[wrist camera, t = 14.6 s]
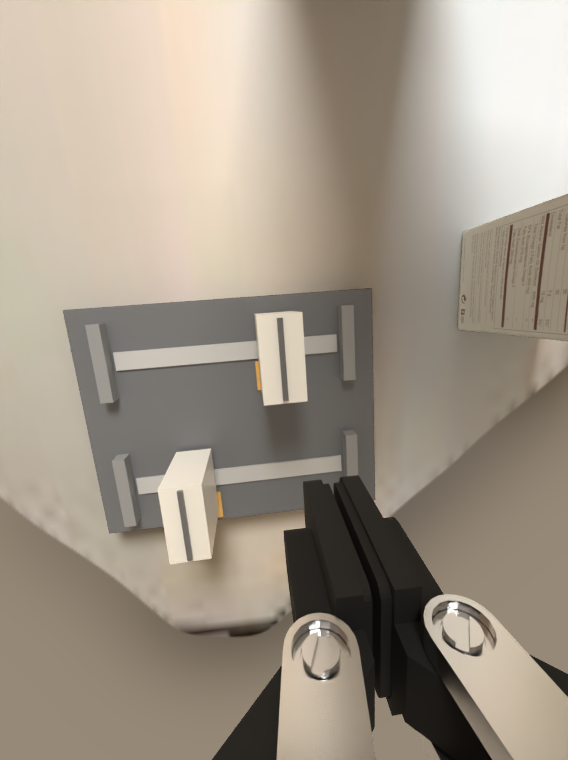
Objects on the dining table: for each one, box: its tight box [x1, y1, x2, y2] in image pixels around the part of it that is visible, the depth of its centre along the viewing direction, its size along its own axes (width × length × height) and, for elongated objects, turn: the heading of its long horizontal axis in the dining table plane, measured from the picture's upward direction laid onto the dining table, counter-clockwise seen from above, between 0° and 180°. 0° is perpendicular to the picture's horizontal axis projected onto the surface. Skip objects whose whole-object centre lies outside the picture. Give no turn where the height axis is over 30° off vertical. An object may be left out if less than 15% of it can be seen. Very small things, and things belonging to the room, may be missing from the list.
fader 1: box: [158, 448, 219, 564], centre depth 22 cm, size 5×2×5 cm, turn 4°
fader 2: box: [254, 311, 308, 406], centre depth 20 cm, size 5×2×5 cm, turn 4°
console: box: [63, 288, 375, 533], centre depth 24 cm, size 16×20×3 cm
